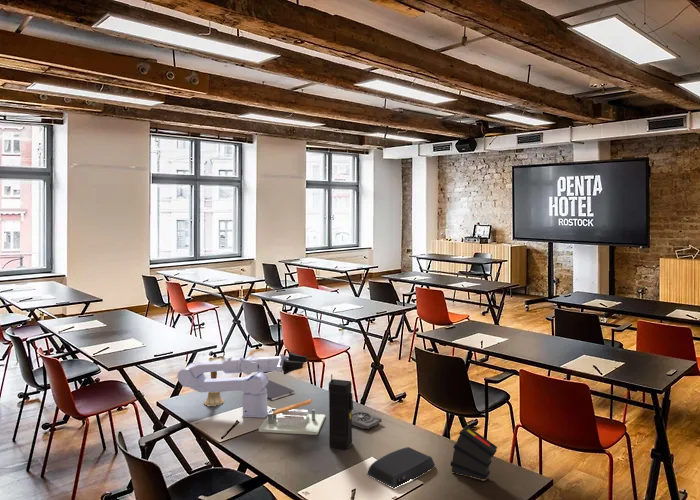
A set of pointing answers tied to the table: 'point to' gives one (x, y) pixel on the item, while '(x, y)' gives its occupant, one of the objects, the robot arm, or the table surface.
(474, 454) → the magazine
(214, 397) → the hand bell
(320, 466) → the table surface
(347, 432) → the portable radio
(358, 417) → the graphics card
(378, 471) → the external hard drive
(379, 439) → the table surface
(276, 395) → the notebook
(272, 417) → the heatsink board
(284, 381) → the table surface
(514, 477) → the table surface
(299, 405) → the strap
